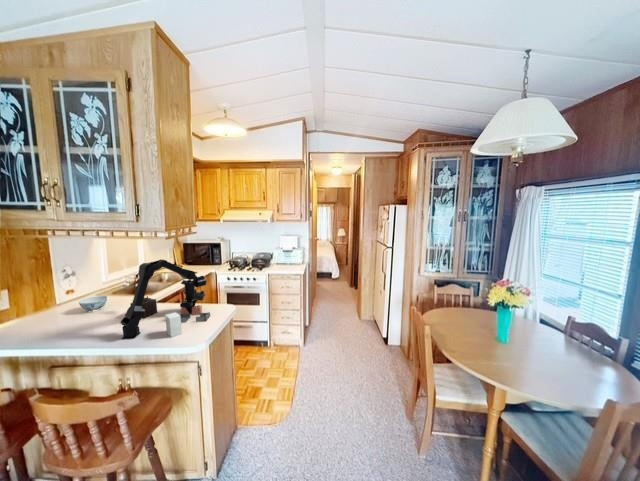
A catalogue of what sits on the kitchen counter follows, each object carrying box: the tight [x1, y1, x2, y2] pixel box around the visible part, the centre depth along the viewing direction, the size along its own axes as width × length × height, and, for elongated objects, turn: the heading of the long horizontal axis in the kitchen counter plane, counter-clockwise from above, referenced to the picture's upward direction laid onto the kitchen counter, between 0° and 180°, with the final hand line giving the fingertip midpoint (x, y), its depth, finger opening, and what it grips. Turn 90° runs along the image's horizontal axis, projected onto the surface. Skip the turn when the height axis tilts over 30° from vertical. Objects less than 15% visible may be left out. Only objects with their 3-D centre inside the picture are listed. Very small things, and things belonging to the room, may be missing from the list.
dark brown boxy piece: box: [130, 285, 158, 320], centre depth 176 cm, size 16×11×18 cm
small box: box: [164, 312, 183, 338], centre depth 148 cm, size 8×6×10 cm
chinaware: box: [78, 295, 108, 312], centre depth 186 cm, size 15×15×8 cm
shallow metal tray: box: [179, 312, 211, 324], centre depth 167 cm, size 18×8×2 cm, turn 96°
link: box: [180, 304, 203, 316], centre depth 175 cm, size 12×4×6 cm, turn 96°
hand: (191, 312), depth 175 cm, fingers closed on link, 3 cm apart
